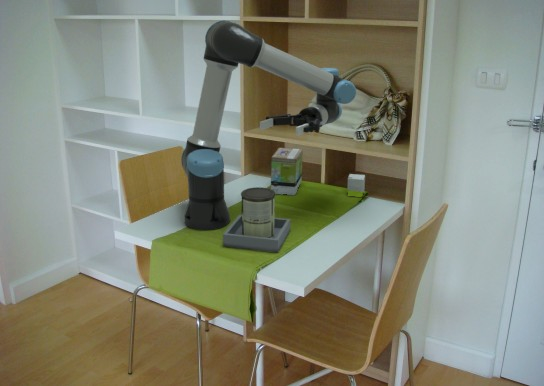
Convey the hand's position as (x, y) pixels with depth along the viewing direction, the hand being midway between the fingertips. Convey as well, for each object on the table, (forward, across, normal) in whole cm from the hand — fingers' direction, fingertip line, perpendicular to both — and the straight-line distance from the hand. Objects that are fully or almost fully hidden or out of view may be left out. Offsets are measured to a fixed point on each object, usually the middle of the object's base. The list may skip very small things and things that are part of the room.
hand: (278, 128), depth 177 cm
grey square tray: (+14, -2, -32) cm, 35 cm away
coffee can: (+14, -2, -31) cm, 34 cm away
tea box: (-31, +17, -32) cm, 48 cm away
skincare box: (-41, -9, -32) cm, 53 cm away
